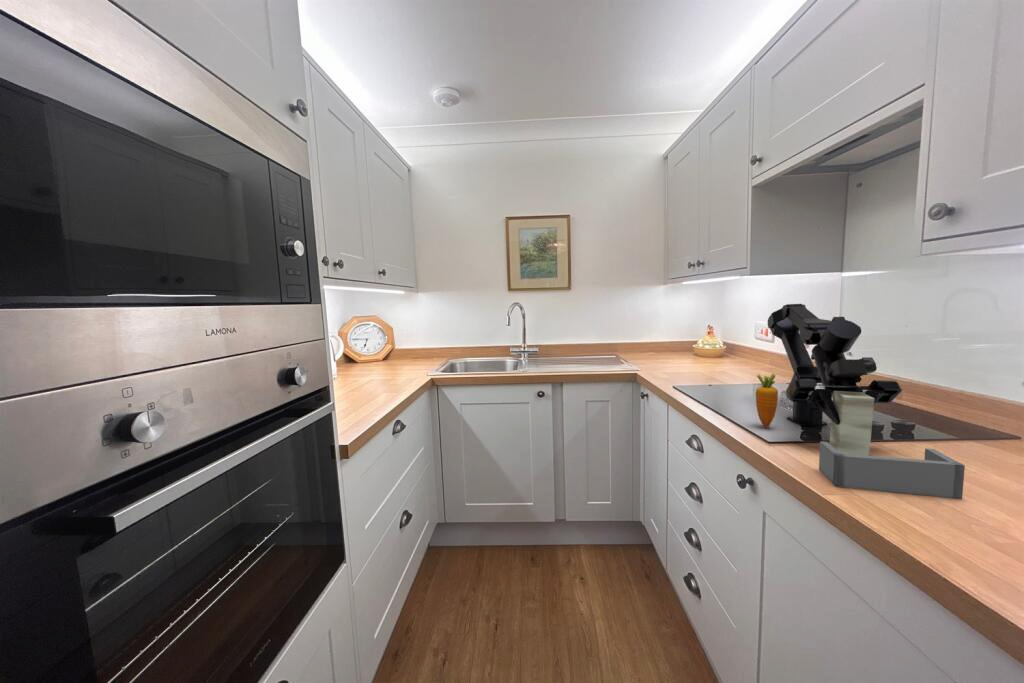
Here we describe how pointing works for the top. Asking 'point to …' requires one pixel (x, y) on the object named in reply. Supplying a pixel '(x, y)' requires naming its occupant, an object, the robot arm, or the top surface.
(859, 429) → the sage block
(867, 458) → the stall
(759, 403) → the carrot
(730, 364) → the top surface
